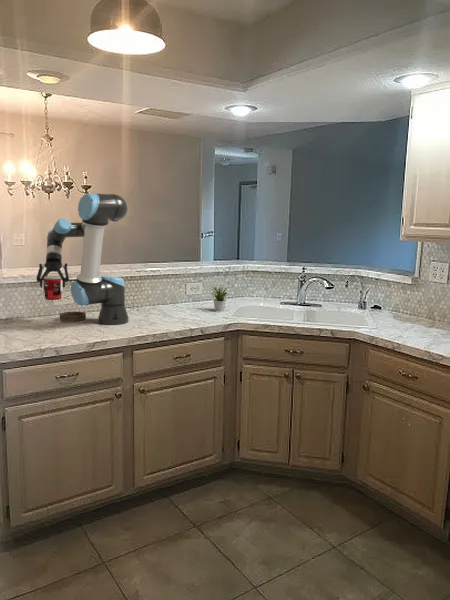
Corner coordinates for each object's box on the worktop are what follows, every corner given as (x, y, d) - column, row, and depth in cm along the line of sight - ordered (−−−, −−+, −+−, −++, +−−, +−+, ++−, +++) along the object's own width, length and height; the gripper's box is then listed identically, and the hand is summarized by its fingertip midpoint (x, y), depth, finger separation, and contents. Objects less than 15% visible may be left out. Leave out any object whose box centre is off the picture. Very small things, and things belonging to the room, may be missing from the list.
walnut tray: (91, 319, 261) (90, 313, 261) (72, 323, 250) (72, 317, 250) (72, 316, 267) (72, 310, 267) (54, 320, 256) (54, 314, 256)
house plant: (202, 312, 283) (202, 283, 280) (208, 307, 296) (208, 280, 293) (226, 313, 280) (227, 284, 277) (231, 309, 293) (232, 281, 290)
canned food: (46, 297, 254) (45, 275, 252) (63, 297, 255) (62, 275, 253) (43, 300, 247) (41, 278, 245) (59, 300, 248) (58, 278, 245)
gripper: (75, 260, 265) (74, 296, 252) (33, 261, 260) (30, 297, 248) (74, 251, 259) (73, 287, 246) (31, 251, 254) (28, 288, 242)
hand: (52, 292), depth 247 cm, fingers closed on canned food, 8 cm apart
